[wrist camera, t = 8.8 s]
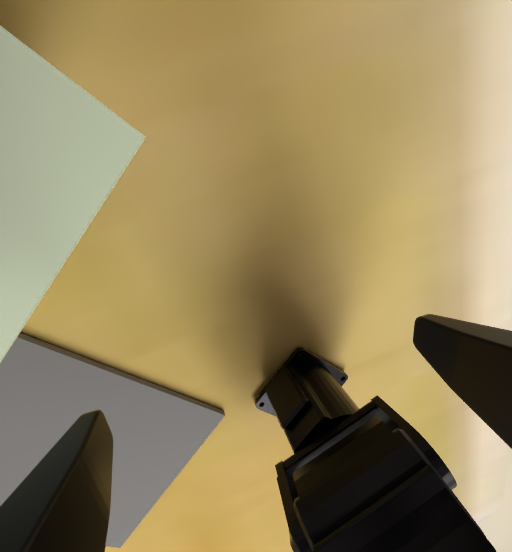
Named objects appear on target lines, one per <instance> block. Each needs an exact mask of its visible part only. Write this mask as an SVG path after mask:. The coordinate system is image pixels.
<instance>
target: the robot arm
mask: <svg viewBox="0 0 512 552" xmlns="http://www.w3.org/2000/svg"><path fill="white" fill-rule="evenodd" d="M413 343H414V345H415V347H416V348H417V350H418V351H419V352H420V353H421V354H422V356H423V357H424V358H425V359H426V360H427V361H428V363H429V364H430V365H431V366H432V367H433V368H434V370H435V371H436V372H437V373H438V374H439V375H440V377H441V378H442V379H443V380H444V381H445V382H446V383H447V385H448V386H449V387H450V388H451V389H452V390H453V391H454V392H455V393H456V394H457V395H458V396H459V397H460V398H461V399H462V400H463V401H464V402H465V403H466V404H467V405H468V406H469V407H470V408H471V409H472V410H473V411H474V412H475V413H476V414H477V415H478V416H479V417H480V418H481V419H482V420H483V421H484V422H485V423H486V424H487V425H488V426H489V427H490V428H491V429H492V430H493V431H494V432H495V433H496V434H497V435H498V436H499V437H500V438H501V439H502V440H503V441H504V442H505V443H506V444H507V445H508V446H509V447H510V448H512V331H509V330H504V329H500V328H495V327H490V326H485V325H480V324H476V323H471V322H466V321H461V320H456V319H452V318H447V317H442V316H437V315H432V314H427V315H423V316H420V317H418V318H416V320H415V325H414V334H413ZM300 353H302V354H301V355H299V354H300ZM341 377H342V378H341ZM347 379H348V376H347V374H346V373H345V372H344V371H342V370H340V369H339V368H337V367H335V366H333V365H332V364H330V363H328V362H327V361H325V360H323V359H321V358H320V357H318V356H316V355H315V354H313V353H311V352H309V351H308V350H306V349H304V348H302V347H300V348H297V349H296V350H295V351H294V352H293V354H292V355H291V356H290V357H289V359H288V360H287V361H286V362H285V364H284V365H283V366H282V367H281V369H280V370H279V371H278V372H277V374H276V375H275V376H274V377H273V379H272V380H271V381H270V382H269V384H268V385H267V386H266V387H265V389H264V390H263V391H262V392H261V394H260V395H259V396H258V397H257V399H256V400H255V405H256V407H257V408H258V409H260V410H262V411H264V412H267V413H269V414H272V415H274V416H277V419H278V421H279V423H280V425H281V427H282V429H283V430H284V432H285V434H286V436H287V438H288V441H289V443H290V445H291V447H292V450H293V452H294V453H295V454H294V455H292V456H291V457H289V458H288V459H286V460H285V461H281V462H279V463H278V464H276V465H275V467H276V471H277V475H278V477H277V481H278V485H279V490H280V494H281V498H282V502H283V506H284V510H285V515H286V519H287V523H288V527H289V533H290V544H291V547H292V549H293V551H294V552H496V550H495V548H494V547H493V546H492V544H491V543H490V542H489V541H488V540H487V538H486V536H485V535H484V533H483V532H482V530H481V529H480V527H479V526H478V525H477V524H476V522H475V521H474V520H473V518H472V517H471V516H470V514H469V513H468V512H467V510H466V509H465V508H464V506H463V505H462V504H461V502H460V501H459V500H458V498H457V497H456V496H455V494H454V493H453V492H452V489H454V488H455V487H456V486H457V483H456V481H455V479H454V477H453V475H452V474H451V472H450V471H449V469H448V468H447V466H446V465H445V463H444V462H443V461H442V459H441V458H440V457H439V455H438V454H437V453H436V452H435V450H434V449H433V448H432V447H431V446H430V444H429V443H428V442H427V441H426V440H425V439H424V438H423V437H422V436H421V435H420V433H419V432H417V431H416V430H415V429H414V428H413V427H412V426H411V425H410V424H409V423H408V422H407V421H405V420H404V419H403V418H402V417H401V416H400V415H399V414H398V413H396V412H395V411H394V410H393V409H392V408H391V407H390V406H389V405H387V404H386V403H385V402H384V401H383V400H382V399H381V398H380V397H379V396H376V397H374V398H373V399H371V402H369V403H368V404H366V405H365V406H363V407H362V408H361V409H359V408H358V407H357V406H356V404H355V403H354V402H353V401H352V399H351V398H350V397H349V396H348V394H347V393H346V392H345V390H344V389H343V388H342V387H341V386H342V385H343V384H344V383H345V382H346V380H347ZM261 402H262V403H261ZM112 464H113V435H112V432H111V430H110V427H109V425H108V423H107V420H106V418H105V415H104V413H103V412H102V411H101V410H95V411H91V412H88V413H84V414H82V415H81V416H80V417H79V418H78V419H77V420H76V421H75V422H74V423H73V424H72V426H71V427H70V428H69V429H68V430H67V431H66V432H65V434H64V435H63V436H62V437H61V438H60V439H59V440H58V441H57V443H56V444H55V445H54V446H53V447H52V448H51V449H50V450H49V452H48V453H47V454H46V455H45V456H44V457H43V458H42V459H41V461H40V462H39V463H38V464H37V465H36V466H35V467H34V468H33V470H32V471H31V472H30V473H29V474H28V475H27V476H26V478H25V479H24V480H23V481H22V482H21V483H20V484H19V485H18V487H17V488H16V489H15V490H14V491H13V492H12V493H11V494H10V496H9V497H8V498H7V499H6V500H5V501H4V502H3V503H2V505H1V506H0V552H105V546H106V539H107V532H108V525H109V517H110V507H111V487H112Z"/></svg>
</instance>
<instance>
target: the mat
mask: <svg viewBox="0 0 512 552" xmlns="http://www.w3.org/2000/svg"><path fill="white" fill-rule="evenodd" d="M95 410H101V411H102V412H103V413H104V415H105V418H106V420H107V423H108V425H109V427H110V430H111V432H112V435H113V464H112V487H111V507H110V517H109V525H108V532H107V539H106V546H109V547H118V548H120V547H121V546H122V545H123V544H124V542H125V541H126V540H127V538H128V537H129V536H130V535H131V533H132V532H133V531H134V530H135V528H136V527H137V526H138V525H139V523H140V522H141V521H142V520H143V518H144V517H145V516H146V514H147V513H148V512H149V511H150V509H151V508H152V507H153V506H154V504H155V503H156V502H157V501H158V499H159V498H160V497H161V496H162V494H163V493H164V492H165V490H166V489H167V488H168V487H169V485H170V484H171V483H172V482H173V480H174V479H175V478H176V477H177V475H178V474H179V473H180V471H181V470H182V469H183V468H184V466H185V465H186V464H187V463H188V461H189V460H190V459H191V458H192V456H193V455H194V454H195V453H196V451H197V450H198V449H199V447H200V446H201V445H202V444H203V442H204V441H205V440H206V439H207V437H208V436H209V435H210V434H211V432H212V431H213V430H214V429H215V427H216V426H217V425H218V423H219V422H220V421H221V420H222V418H223V417H224V416H225V413H224V411H223V410H221V409H218V408H215V407H213V406H210V405H208V404H205V403H202V402H200V401H197V400H195V399H192V398H189V397H187V396H184V395H181V394H179V393H176V392H174V391H171V390H168V389H166V388H163V387H161V386H158V385H155V384H153V383H150V382H148V381H145V380H142V379H140V378H137V377H135V376H132V375H129V374H127V373H124V372H121V371H119V370H116V369H114V368H111V367H108V366H106V365H103V364H101V363H98V362H95V361H93V360H90V359H88V358H85V357H82V356H80V355H77V354H75V353H72V352H69V351H67V350H64V349H62V348H59V347H56V346H54V345H51V344H48V343H46V342H43V341H41V340H38V339H35V338H33V337H30V336H28V335H25V334H22V333H19V335H18V336H17V338H16V340H15V341H14V343H13V344H12V346H11V347H10V349H9V350H8V352H7V354H6V355H5V357H4V358H3V360H2V361H1V363H0V506H1V505H2V503H3V502H4V501H5V500H6V499H7V498H8V497H9V496H10V494H11V493H12V492H13V491H14V490H15V489H16V488H17V487H18V485H19V484H20V483H21V482H22V481H23V480H24V479H25V478H26V476H27V475H28V474H29V473H30V472H31V471H32V470H33V468H34V467H35V466H36V465H37V464H38V463H39V462H40V461H41V459H42V458H43V457H44V456H45V455H46V454H47V453H48V452H49V450H50V449H51V448H52V447H53V446H54V445H55V444H56V443H57V441H58V440H59V439H60V438H61V437H62V436H63V435H64V434H65V432H66V431H67V430H68V429H69V428H70V427H71V426H72V424H73V423H74V422H75V421H76V420H77V419H78V418H79V417H80V416H81V415H82V414H84V413H88V412H91V411H95Z"/></svg>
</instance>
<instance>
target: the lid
mask: <svg viewBox="0 0 512 552" xmlns="http://www.w3.org/2000/svg"><path fill="white" fill-rule="evenodd" d="M145 138H146V137H145V136H144V135H143V134H141V133H140V132H139V131H137V130H136V129H135V128H133V127H132V126H131V125H130V124H128V123H127V122H126V121H124V120H123V119H122V118H120V117H119V116H118V115H116V114H115V113H114V112H113V111H111V110H110V109H109V108H107V107H106V106H105V105H103V104H102V103H101V102H100V101H98V100H97V99H96V98H94V97H93V96H92V95H90V94H89V93H88V92H86V91H85V90H84V89H83V88H81V87H80V86H79V85H77V84H76V83H75V82H73V81H72V80H71V79H70V78H68V77H67V76H66V75H64V74H63V73H62V72H60V71H59V70H58V69H57V68H55V67H54V66H53V65H51V64H50V63H49V62H47V61H46V60H45V59H43V58H42V57H41V56H40V55H38V54H37V53H36V52H34V51H33V50H32V49H30V48H29V47H28V46H27V45H25V44H24V43H23V42H21V41H20V40H19V39H17V38H16V37H15V36H13V35H12V34H11V33H10V32H8V31H7V30H6V29H4V28H3V27H2V26H0V363H1V361H2V360H3V358H4V357H5V355H6V354H7V352H8V350H9V349H10V347H11V346H12V344H13V343H14V341H15V340H16V338H17V336H18V335H19V333H20V332H21V330H22V329H23V327H24V326H25V324H26V323H27V321H28V319H29V318H30V316H31V315H32V313H33V312H34V310H35V309H36V307H37V306H38V304H39V302H40V301H41V299H42V298H43V296H44V295H45V293H46V292H47V290H48V288H49V287H50V285H51V284H52V282H53V281H54V279H55V278H56V276H57V275H58V273H59V271H60V270H61V268H62V267H63V265H64V264H65V262H66V261H67V259H68V257H69V256H70V254H71V253H72V251H73V250H74V248H75V247H76V245H77V244H78V242H79V240H80V239H81V237H82V236H83V234H84V233H85V231H86V230H87V228H88V226H89V225H90V223H91V222H92V220H93V219H94V217H95V216H96V214H97V213H98V211H99V209H100V208H101V206H102V205H103V203H104V202H105V200H106V199H107V197H108V195H109V194H110V192H111V191H112V189H113V188H114V186H115V185H116V183H117V182H118V180H119V178H120V177H121V175H122V174H123V172H124V171H125V169H126V168H127V166H128V165H129V163H130V161H131V160H132V158H133V157H134V155H135V154H136V152H137V151H138V149H139V147H140V146H141V144H142V143H143V141H144V140H145Z"/></svg>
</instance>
